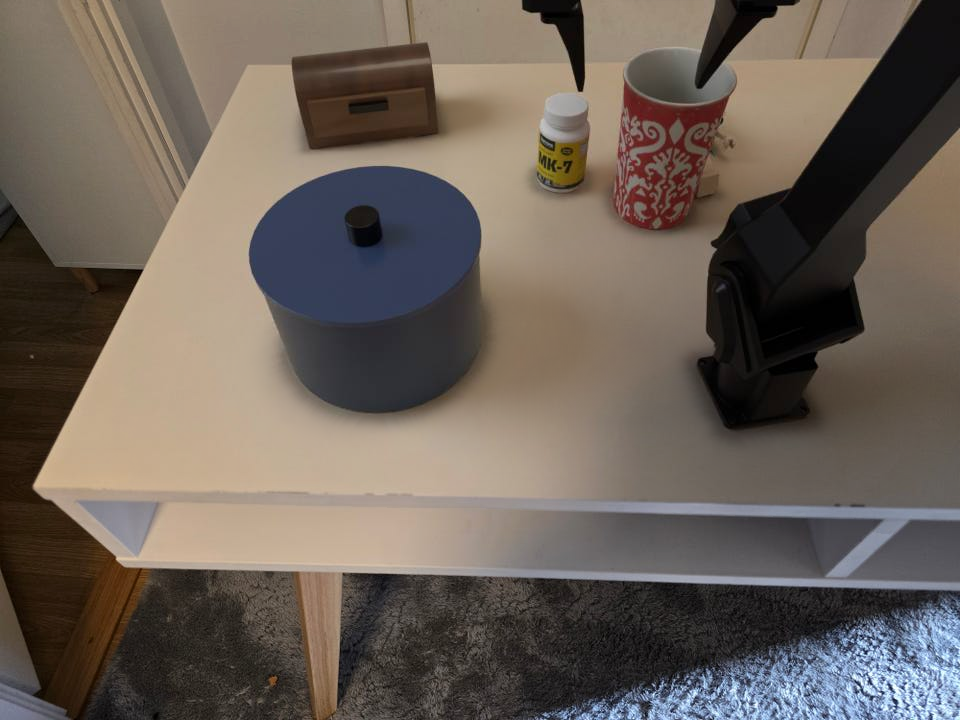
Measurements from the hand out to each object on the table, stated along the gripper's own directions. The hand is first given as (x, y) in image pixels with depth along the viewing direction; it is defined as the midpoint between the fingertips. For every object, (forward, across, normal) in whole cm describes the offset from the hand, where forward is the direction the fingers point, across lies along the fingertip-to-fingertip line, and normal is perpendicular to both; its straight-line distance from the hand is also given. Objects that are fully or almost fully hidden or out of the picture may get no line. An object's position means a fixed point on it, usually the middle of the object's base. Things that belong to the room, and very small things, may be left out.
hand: (638, 87), depth 53 cm
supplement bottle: (+14, +5, -7) cm, 16 cm away
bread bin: (+13, +25, -18) cm, 33 cm away
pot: (+14, +21, +13) cm, 28 cm away
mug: (+14, -4, -4) cm, 15 cm away
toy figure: (+14, -8, -11) cm, 20 cm away
